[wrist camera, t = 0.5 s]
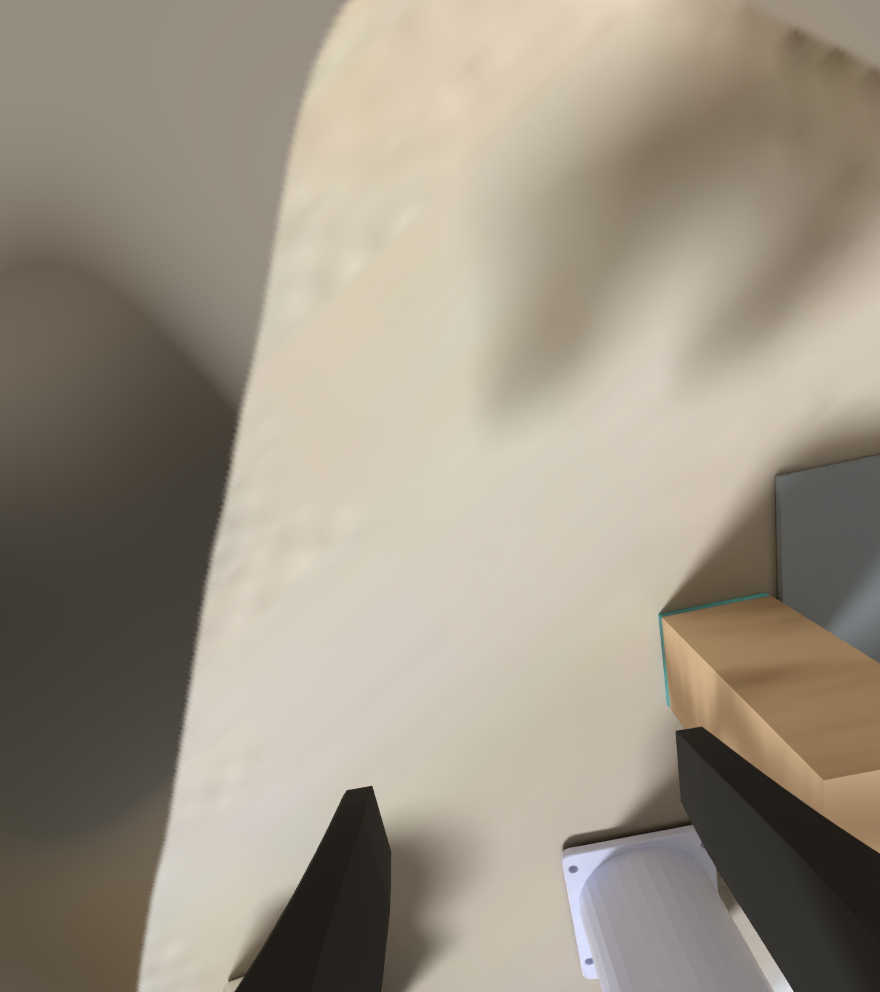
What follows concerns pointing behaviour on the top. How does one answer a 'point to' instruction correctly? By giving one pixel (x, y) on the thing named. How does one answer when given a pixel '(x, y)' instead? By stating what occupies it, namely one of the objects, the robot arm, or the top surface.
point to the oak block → (782, 701)
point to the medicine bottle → (232, 985)
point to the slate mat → (832, 548)
